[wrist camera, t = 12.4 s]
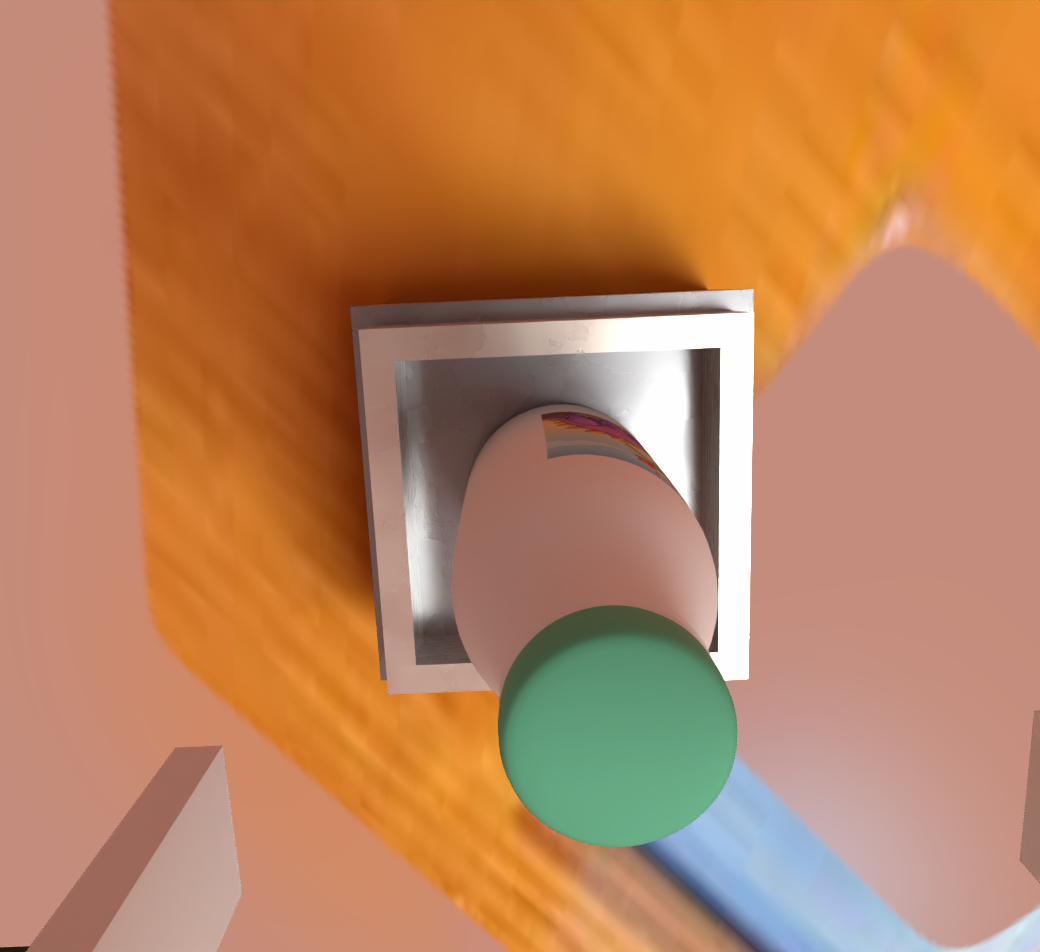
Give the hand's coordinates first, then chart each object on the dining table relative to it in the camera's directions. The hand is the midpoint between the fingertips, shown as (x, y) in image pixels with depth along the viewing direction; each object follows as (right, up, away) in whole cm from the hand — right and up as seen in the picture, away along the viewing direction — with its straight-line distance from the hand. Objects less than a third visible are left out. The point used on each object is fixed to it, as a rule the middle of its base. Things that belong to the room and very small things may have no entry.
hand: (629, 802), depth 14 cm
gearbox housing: (0, +6, +29) cm, 30 cm away
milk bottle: (0, +5, +22) cm, 22 cm away
